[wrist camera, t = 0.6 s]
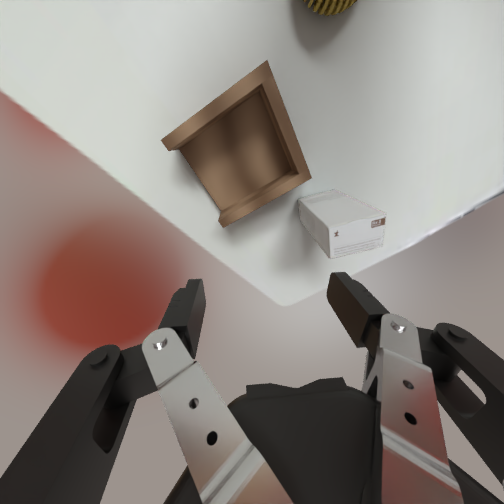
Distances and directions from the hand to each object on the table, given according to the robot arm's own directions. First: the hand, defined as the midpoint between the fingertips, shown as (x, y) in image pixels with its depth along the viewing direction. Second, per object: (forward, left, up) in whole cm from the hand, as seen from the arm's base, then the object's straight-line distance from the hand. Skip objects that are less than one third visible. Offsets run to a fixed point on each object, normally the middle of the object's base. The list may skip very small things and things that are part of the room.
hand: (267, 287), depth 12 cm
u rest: (-1, -6, -20) cm, 21 cm away
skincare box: (-8, +6, -21) cm, 23 cm away
